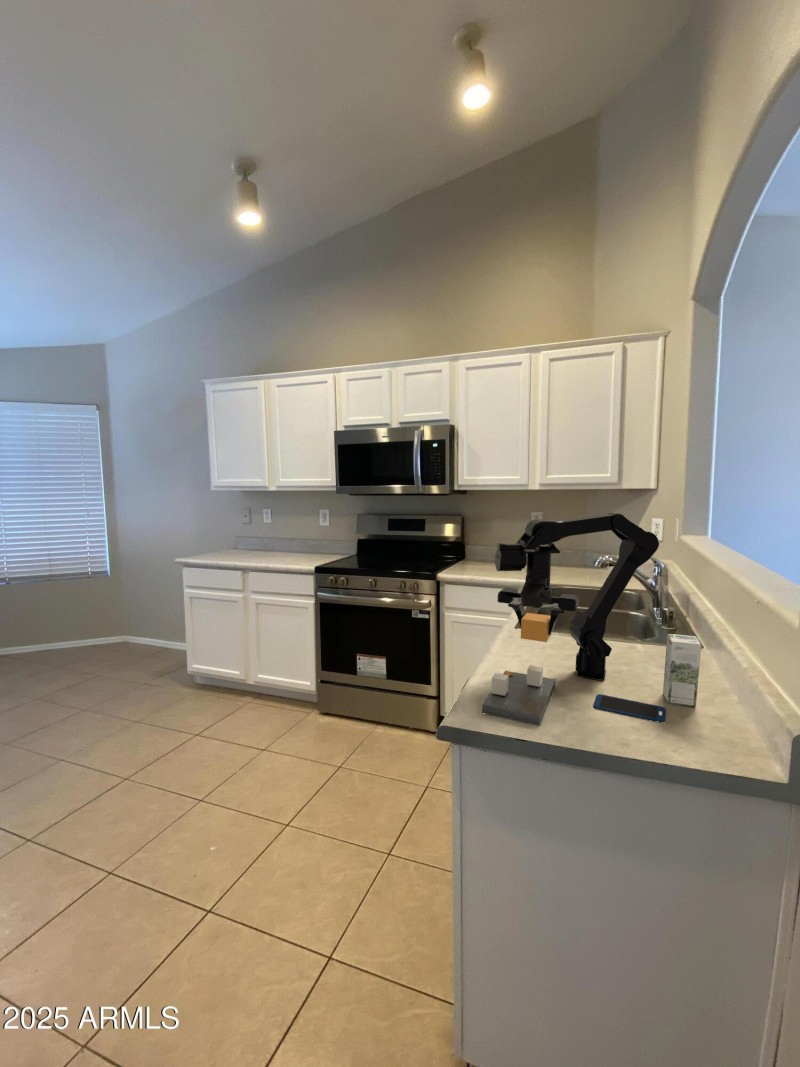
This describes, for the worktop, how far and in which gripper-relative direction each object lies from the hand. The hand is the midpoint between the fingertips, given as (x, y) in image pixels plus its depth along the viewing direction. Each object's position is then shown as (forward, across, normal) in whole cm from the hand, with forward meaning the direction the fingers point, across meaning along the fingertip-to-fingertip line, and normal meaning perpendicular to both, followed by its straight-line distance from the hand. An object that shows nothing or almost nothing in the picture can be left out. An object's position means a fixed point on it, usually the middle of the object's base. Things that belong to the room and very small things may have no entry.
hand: (536, 632), depth 124 cm
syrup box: (+11, +32, 0) cm, 34 cm away
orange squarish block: (+1, 0, 0) cm, 1 cm away
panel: (+11, 0, -15) cm, 19 cm away
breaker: (+9, -4, -18) cm, 21 cm away
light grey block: (+9, +2, -10) cm, 14 cm away
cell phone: (+12, +22, -9) cm, 26 cm away
